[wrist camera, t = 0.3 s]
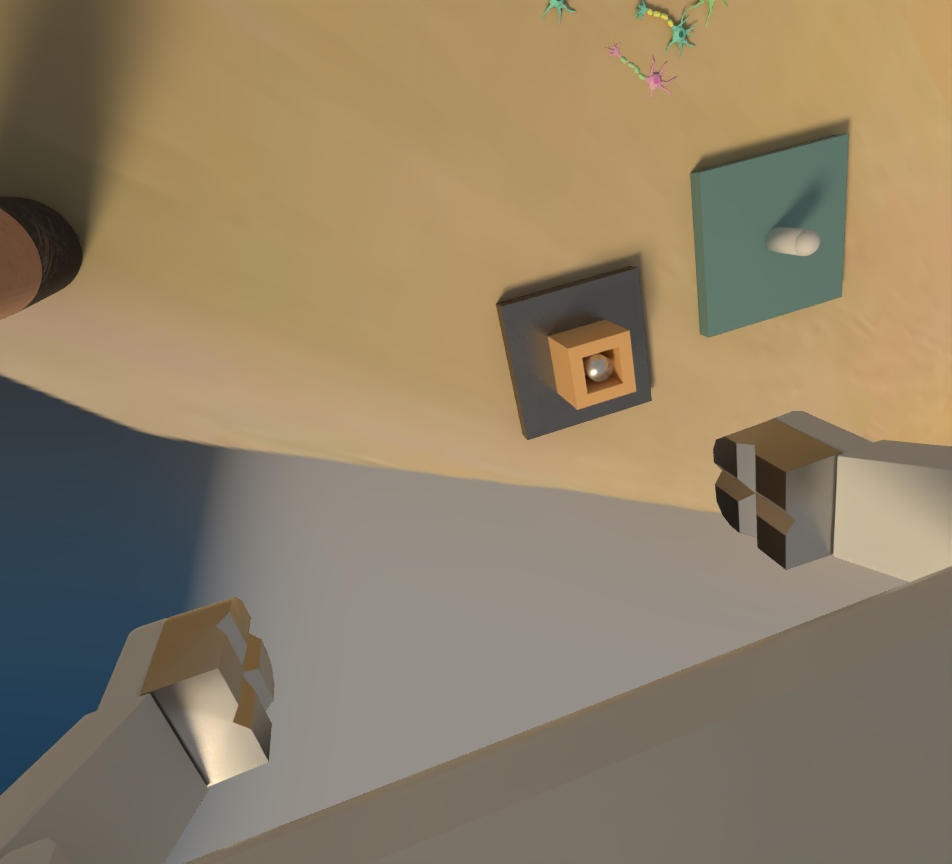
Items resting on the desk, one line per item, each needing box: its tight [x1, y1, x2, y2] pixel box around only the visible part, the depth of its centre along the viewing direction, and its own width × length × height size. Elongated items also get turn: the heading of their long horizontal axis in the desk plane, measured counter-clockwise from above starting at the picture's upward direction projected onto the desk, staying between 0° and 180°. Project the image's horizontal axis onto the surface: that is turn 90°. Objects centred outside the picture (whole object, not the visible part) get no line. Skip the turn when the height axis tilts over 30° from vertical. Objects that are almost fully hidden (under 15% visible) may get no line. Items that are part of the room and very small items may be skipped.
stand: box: [496, 266, 652, 440], centre depth 58 cm, size 14×14×6 cm
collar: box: [548, 320, 636, 410], centre depth 57 cm, size 6×6×5 cm
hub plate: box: [690, 134, 849, 337], centre depth 58 cm, size 16×16×7 cm
